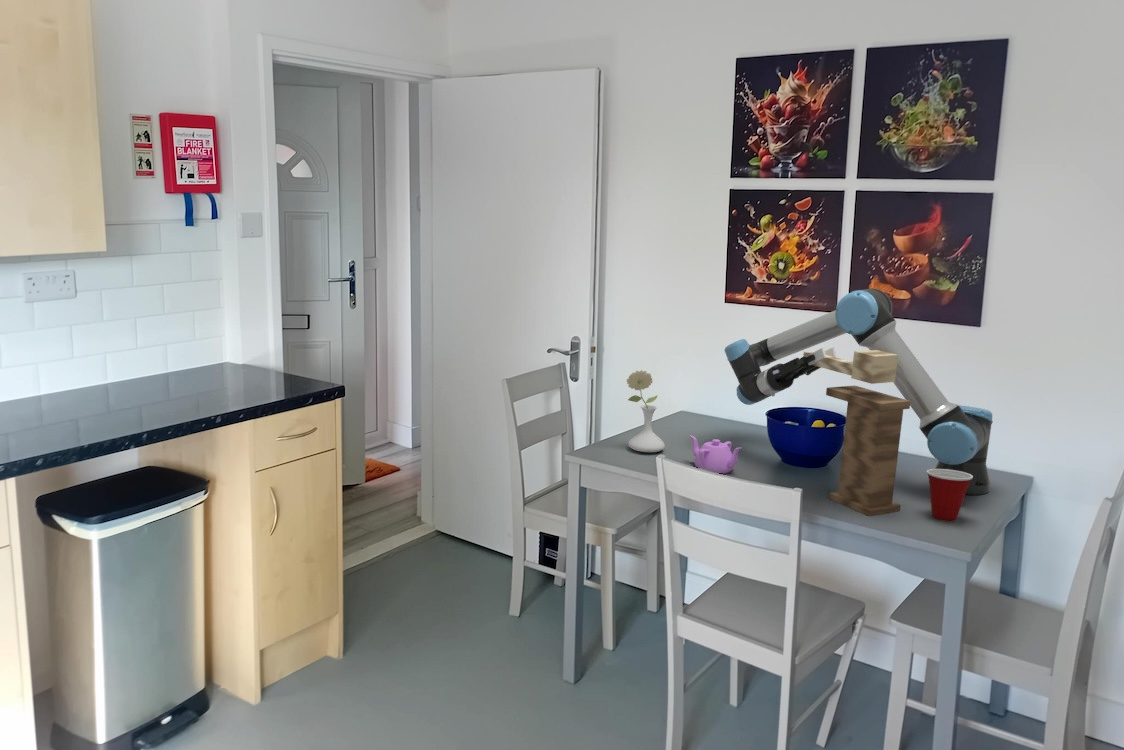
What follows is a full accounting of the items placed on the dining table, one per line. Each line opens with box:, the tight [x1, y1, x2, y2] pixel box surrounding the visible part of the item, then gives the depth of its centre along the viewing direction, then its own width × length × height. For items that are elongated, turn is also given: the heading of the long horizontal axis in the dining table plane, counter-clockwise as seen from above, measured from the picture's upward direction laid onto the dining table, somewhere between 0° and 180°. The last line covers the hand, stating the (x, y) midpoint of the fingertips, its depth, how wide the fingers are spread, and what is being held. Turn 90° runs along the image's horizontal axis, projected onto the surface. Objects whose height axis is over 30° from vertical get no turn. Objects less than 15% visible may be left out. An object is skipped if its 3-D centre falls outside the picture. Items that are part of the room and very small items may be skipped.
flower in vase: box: [626, 370, 666, 453], centre depth 270 cm, size 13×11×25 cm
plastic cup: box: [926, 468, 973, 522], centre depth 222 cm, size 11×11×12 cm
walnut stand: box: [825, 385, 911, 517], centre depth 230 cm, size 20×11×29 cm, turn 27°
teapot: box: [689, 434, 743, 475], centre depth 255 cm, size 12×14×9 cm
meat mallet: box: [802, 350, 898, 385], centre depth 234 cm, size 28×8×7 cm, turn 27°
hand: (829, 352), depth 239 cm, fingers closed on meat mallet, 3 cm apart
